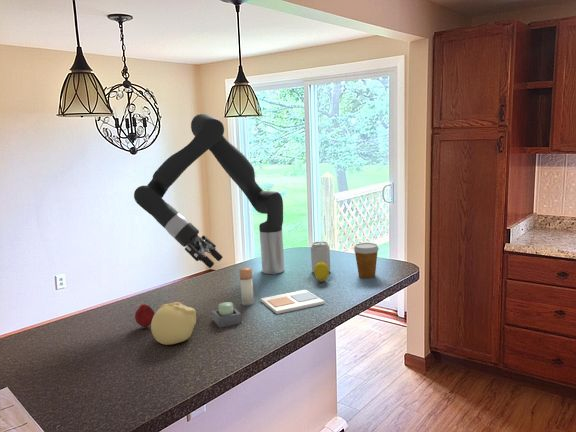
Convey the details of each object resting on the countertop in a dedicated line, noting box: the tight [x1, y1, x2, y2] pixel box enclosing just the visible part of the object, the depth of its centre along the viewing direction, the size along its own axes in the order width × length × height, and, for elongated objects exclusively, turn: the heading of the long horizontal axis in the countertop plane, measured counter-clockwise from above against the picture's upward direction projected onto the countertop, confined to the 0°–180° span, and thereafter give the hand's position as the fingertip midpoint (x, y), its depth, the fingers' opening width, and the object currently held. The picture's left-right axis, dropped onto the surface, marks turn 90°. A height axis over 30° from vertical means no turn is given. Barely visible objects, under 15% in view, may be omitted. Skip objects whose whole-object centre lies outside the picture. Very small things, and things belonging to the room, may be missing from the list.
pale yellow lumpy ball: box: [150, 301, 197, 346], centre depth 138 cm, size 11×12×11 cm
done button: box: [218, 301, 234, 317], centre depth 149 cm, size 4×4×4 cm
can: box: [310, 241, 331, 273], centre depth 196 cm, size 8×8×12 cm
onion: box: [134, 302, 156, 328], centre depth 148 cm, size 6×6×8 cm
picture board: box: [260, 289, 325, 315], centre depth 163 cm, size 14×17×1 cm
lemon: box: [313, 261, 330, 283], centre depth 183 cm, size 6×6×8 cm
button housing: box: [211, 306, 242, 329], centre depth 150 cm, size 7×7×3 cm
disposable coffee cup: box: [353, 242, 380, 279], centre depth 187 cm, size 10×10×12 cm
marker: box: [238, 266, 255, 306], centre depth 164 cm, size 4×4×12 cm
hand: (216, 262), depth 165 cm, fingers open, 8 cm apart
